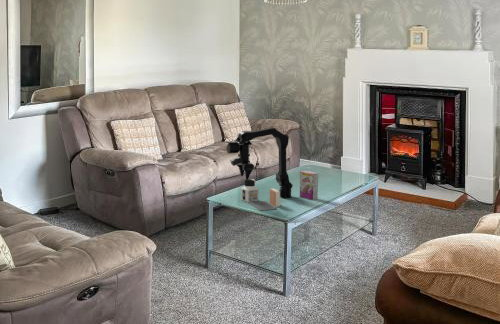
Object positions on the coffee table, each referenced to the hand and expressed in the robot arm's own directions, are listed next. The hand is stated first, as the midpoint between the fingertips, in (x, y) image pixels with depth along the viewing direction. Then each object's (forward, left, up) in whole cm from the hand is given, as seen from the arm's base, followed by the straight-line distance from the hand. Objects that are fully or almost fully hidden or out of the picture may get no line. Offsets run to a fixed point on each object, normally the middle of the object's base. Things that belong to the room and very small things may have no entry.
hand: (244, 177), depth 357 cm
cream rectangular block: (-14, +15, -15) cm, 25 cm away
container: (-4, 0, -15) cm, 15 cm away
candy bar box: (-40, +8, -15) cm, 43 cm away
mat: (-6, +15, -15) cm, 21 cm away
